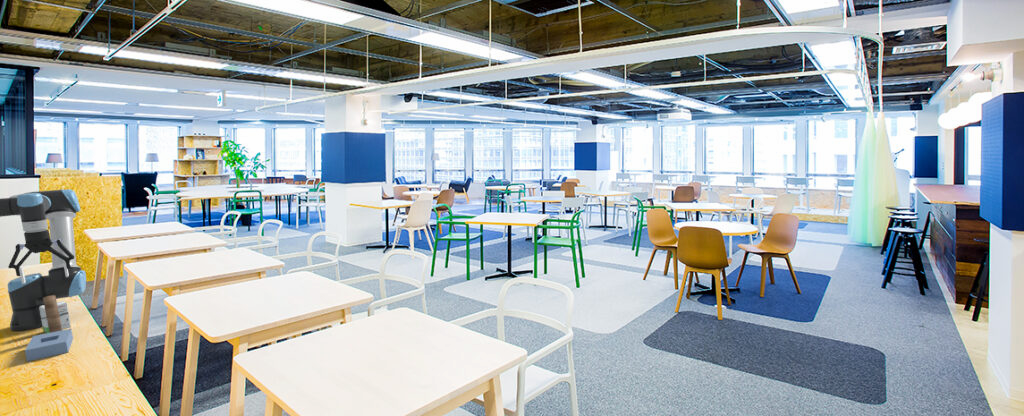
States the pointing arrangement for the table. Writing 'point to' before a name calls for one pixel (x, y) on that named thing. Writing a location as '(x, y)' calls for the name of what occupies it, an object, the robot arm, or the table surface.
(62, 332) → the socket block
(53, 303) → the peg
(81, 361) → the table surface
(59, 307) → the ink box
